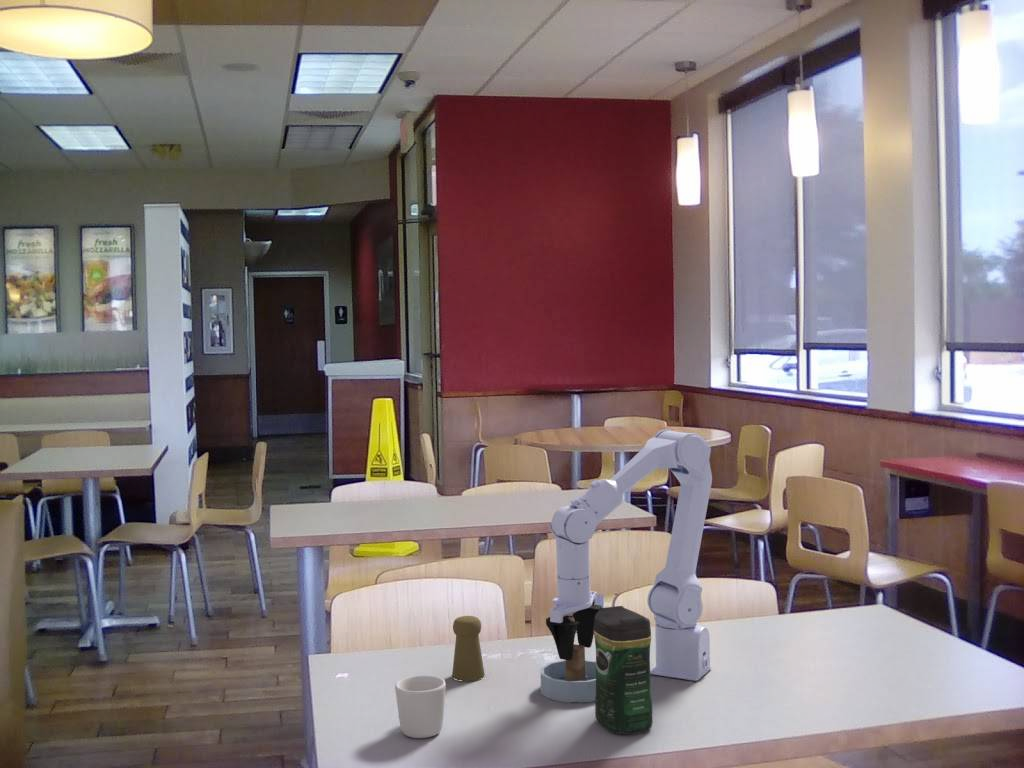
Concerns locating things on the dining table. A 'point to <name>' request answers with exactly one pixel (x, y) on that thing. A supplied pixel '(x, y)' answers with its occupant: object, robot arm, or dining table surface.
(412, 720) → the cup
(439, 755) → the dining table surface
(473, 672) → the cork
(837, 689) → the dining table surface
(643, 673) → the coffee jar
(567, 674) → the long wooden beam
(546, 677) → the pale blue round tray
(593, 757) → the dining table surface
